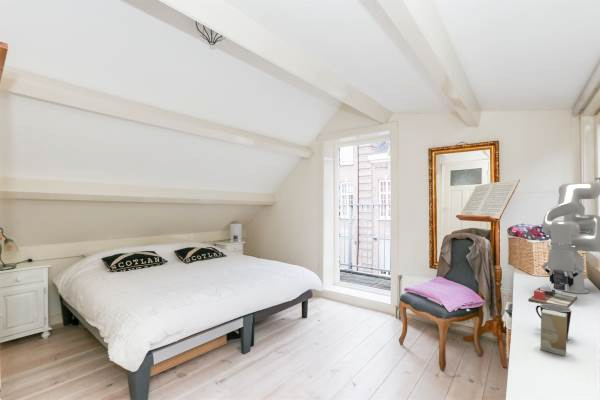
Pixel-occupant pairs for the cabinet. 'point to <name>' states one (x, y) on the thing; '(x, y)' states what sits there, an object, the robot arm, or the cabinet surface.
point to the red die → (539, 294)
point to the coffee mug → (557, 309)
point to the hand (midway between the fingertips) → (561, 284)
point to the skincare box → (553, 331)
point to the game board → (555, 298)
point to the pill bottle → (561, 280)
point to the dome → (546, 288)
